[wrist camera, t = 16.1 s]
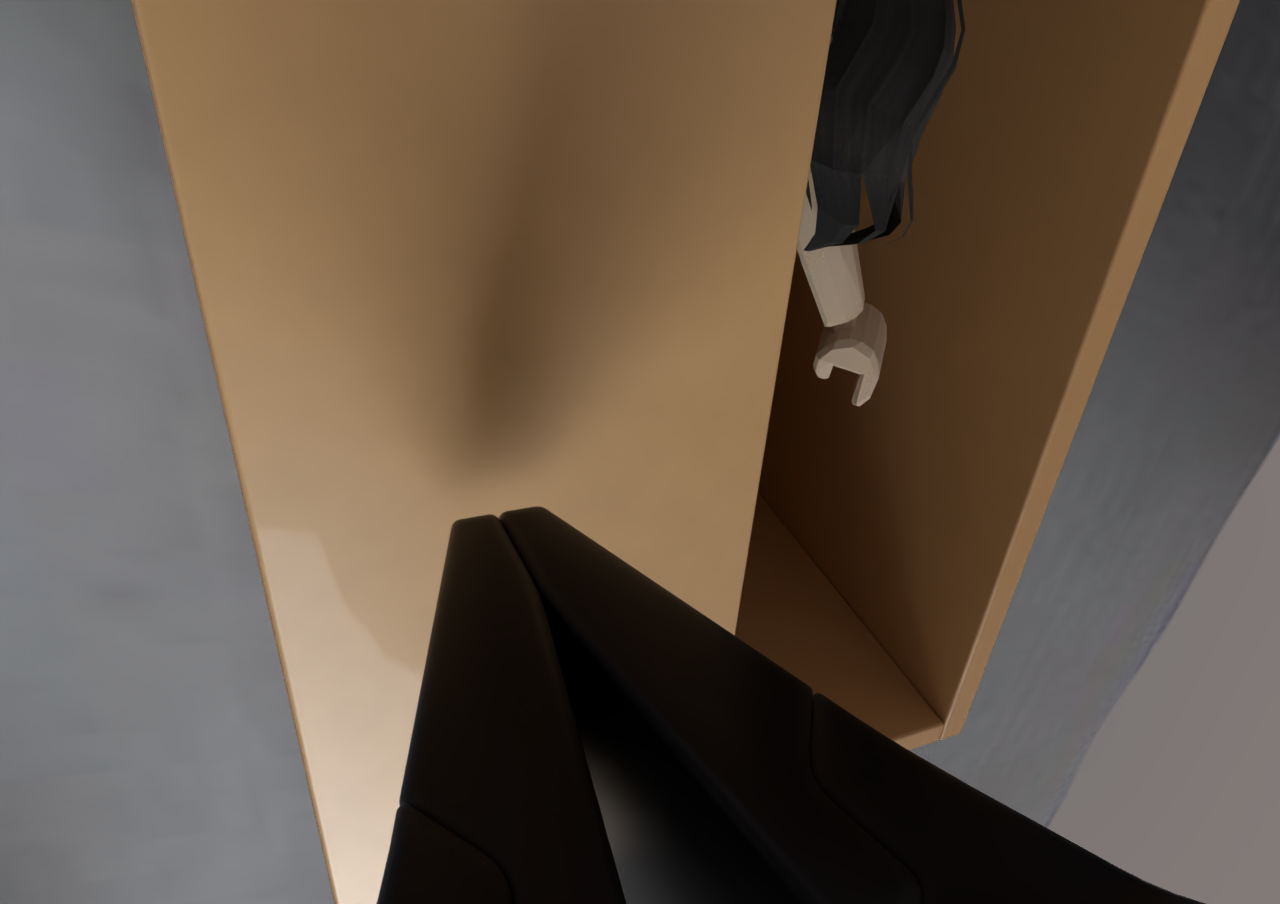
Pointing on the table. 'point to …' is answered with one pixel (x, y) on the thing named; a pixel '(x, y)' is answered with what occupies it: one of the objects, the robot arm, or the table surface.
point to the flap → (480, 308)
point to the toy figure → (868, 161)
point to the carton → (962, 354)
